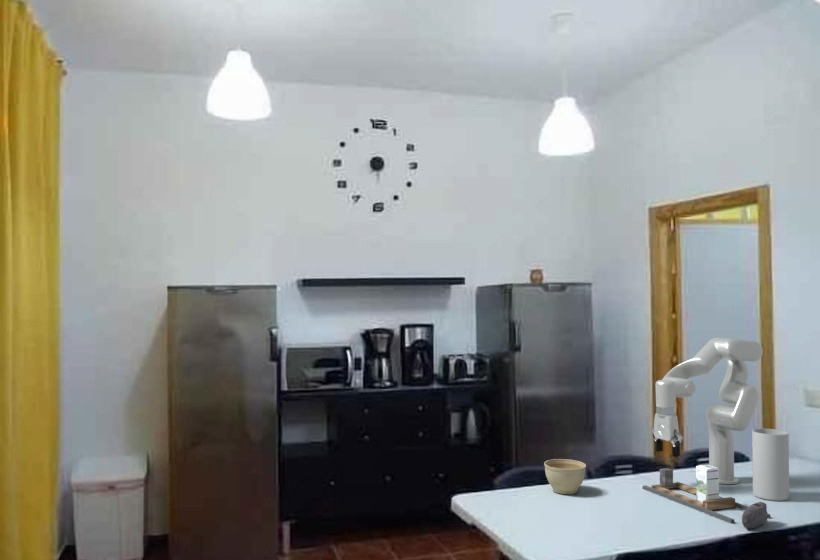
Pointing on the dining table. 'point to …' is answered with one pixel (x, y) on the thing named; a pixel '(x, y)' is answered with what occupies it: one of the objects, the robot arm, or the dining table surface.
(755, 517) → the perforated stone tool
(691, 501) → the frame
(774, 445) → the cylinder vase
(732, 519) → the guide rails
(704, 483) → the syrup box
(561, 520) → the dining table surface
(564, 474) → the planter bowl
